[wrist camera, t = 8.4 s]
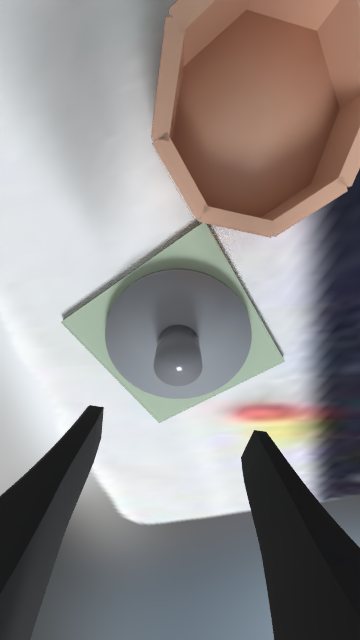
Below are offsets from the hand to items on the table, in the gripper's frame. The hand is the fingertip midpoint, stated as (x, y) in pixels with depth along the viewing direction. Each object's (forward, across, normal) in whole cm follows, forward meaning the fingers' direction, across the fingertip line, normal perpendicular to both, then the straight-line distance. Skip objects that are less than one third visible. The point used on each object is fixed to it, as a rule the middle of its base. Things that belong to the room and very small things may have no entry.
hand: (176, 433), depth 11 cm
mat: (+9, 0, 0) cm, 9 cm away
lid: (+8, 0, 0) cm, 9 cm away
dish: (+9, -1, -14) cm, 17 cm away
